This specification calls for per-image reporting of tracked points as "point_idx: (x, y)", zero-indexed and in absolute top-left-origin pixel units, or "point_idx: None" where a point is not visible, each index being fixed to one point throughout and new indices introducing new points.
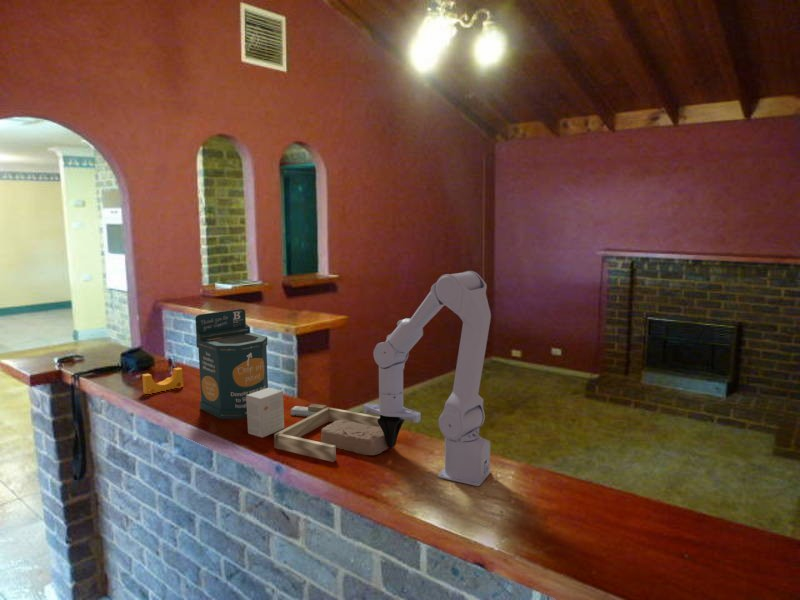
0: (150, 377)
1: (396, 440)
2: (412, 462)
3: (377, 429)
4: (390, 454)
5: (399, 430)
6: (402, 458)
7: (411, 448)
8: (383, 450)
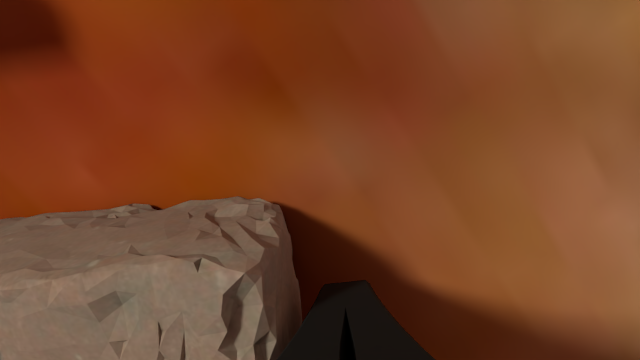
0: None
1: (377, 297)
2: (584, 346)
3: (98, 354)
4: None
5: (431, 357)
6: (483, 331)
7: (448, 141)
8: None
